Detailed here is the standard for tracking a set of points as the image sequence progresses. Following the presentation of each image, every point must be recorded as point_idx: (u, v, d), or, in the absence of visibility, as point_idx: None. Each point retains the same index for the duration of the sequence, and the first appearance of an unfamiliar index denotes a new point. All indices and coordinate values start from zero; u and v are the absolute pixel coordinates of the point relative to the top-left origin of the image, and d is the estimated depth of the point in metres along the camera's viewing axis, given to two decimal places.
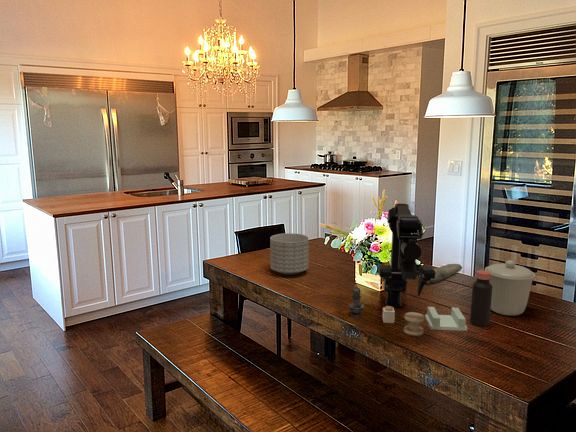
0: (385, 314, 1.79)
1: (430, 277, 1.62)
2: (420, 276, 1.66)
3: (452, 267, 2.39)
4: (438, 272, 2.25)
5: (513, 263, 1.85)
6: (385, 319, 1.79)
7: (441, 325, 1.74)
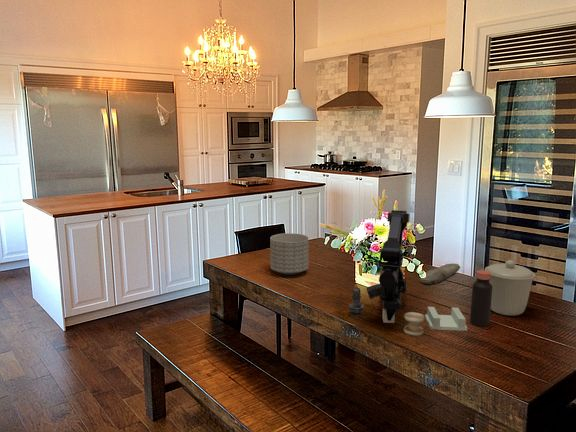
0: (385, 314, 1.79)
1: (383, 306, 1.72)
2: None
3: (451, 267, 2.40)
4: (439, 272, 2.25)
5: (513, 263, 1.85)
6: (385, 319, 1.79)
7: (441, 325, 1.74)
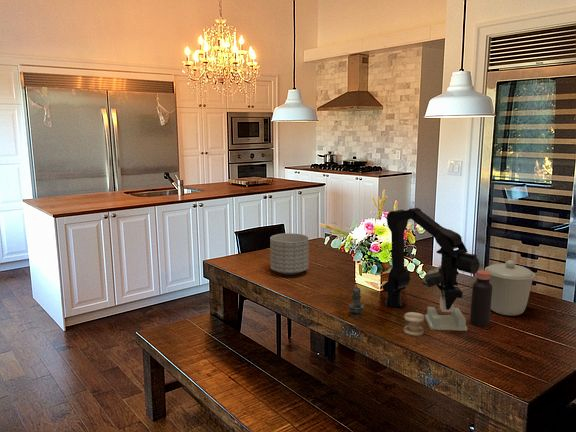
0: (444, 303, 1.75)
1: (443, 294, 1.69)
2: None
3: None
4: None
5: (513, 263, 1.85)
6: (444, 308, 1.75)
7: (441, 325, 1.74)
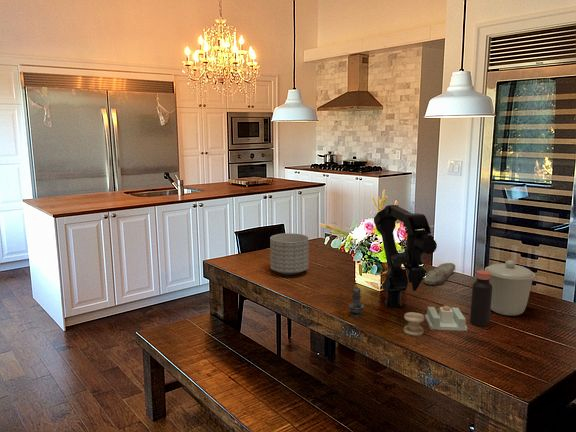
0: (443, 314, 1.76)
1: (408, 273, 1.73)
2: None
3: (448, 266, 2.40)
4: (441, 273, 2.24)
5: (513, 263, 1.85)
6: (443, 319, 1.76)
7: (441, 325, 1.74)
